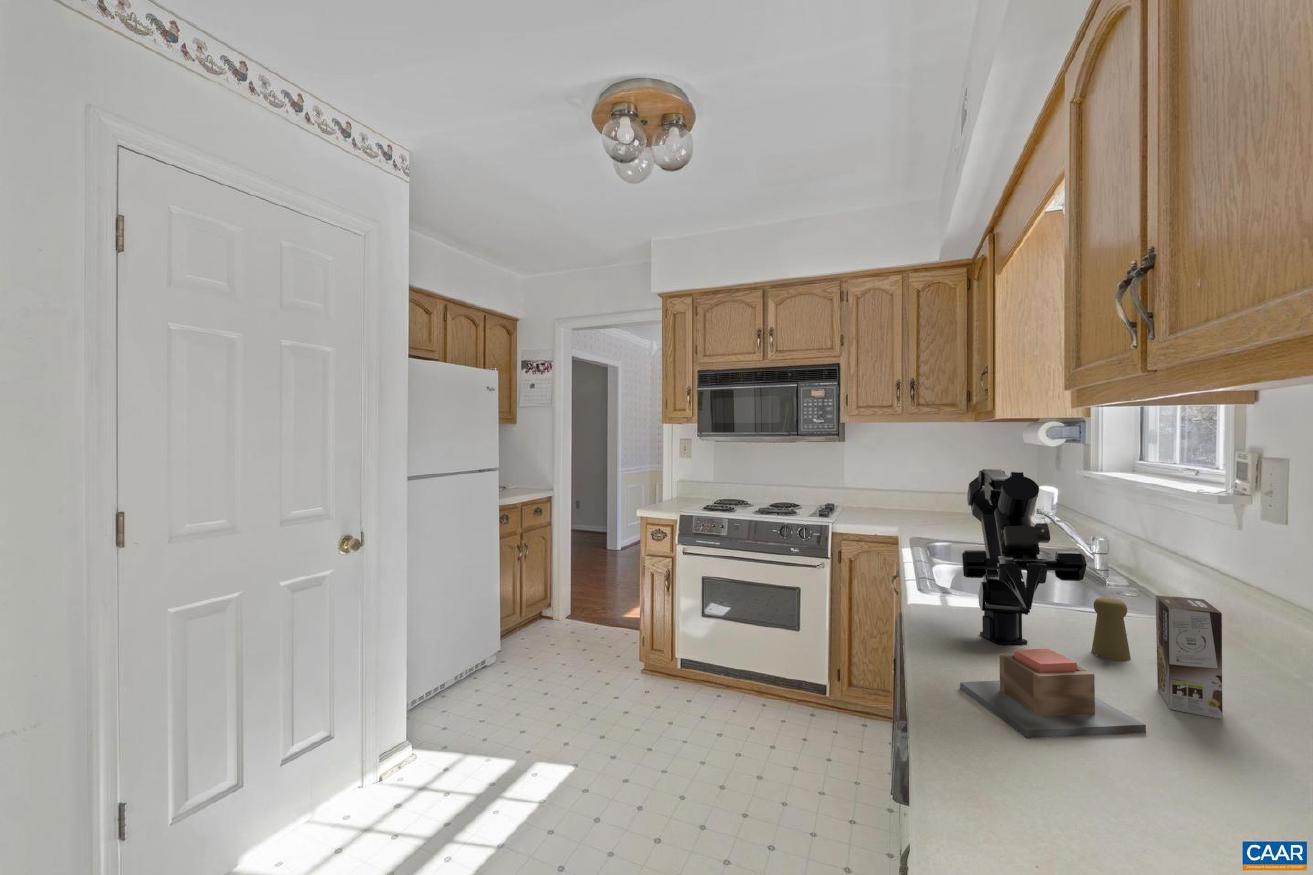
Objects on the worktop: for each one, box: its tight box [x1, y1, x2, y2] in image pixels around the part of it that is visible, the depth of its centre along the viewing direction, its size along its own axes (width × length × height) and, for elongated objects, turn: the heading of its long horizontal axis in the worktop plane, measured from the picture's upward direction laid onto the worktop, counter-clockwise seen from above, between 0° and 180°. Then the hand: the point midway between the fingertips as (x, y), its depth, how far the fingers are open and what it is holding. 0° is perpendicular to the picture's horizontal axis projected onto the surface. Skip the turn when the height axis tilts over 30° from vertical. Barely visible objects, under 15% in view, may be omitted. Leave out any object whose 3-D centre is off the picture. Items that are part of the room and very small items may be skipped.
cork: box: [1091, 596, 1132, 662], centre depth 111 cm, size 6×6×11 cm
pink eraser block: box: [1013, 648, 1078, 673], centre depth 90 cm, size 6×6×6 cm
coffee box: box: [1155, 594, 1223, 720], centre depth 91 cm, size 9×6×16 cm
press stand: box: [959, 652, 1147, 739], centre depth 90 cm, size 18×16×7 cm
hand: (1028, 608), depth 98 cm, fingers closed
